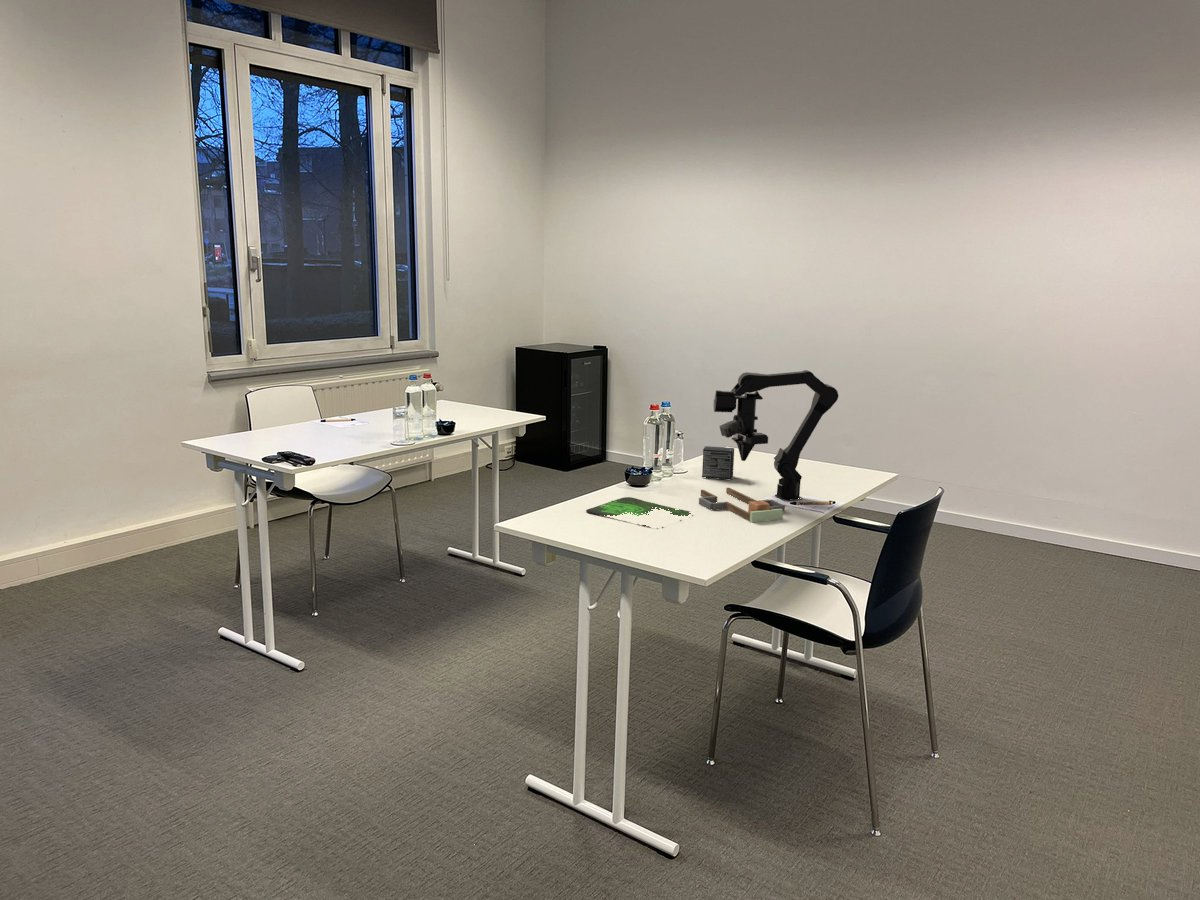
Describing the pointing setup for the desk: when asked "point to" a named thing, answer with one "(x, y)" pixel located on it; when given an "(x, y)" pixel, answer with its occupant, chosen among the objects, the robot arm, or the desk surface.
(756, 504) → the wooden cube
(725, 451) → the small box
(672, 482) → the desk surface
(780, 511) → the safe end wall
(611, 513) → the mouse mat
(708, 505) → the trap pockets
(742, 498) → the lane walls
